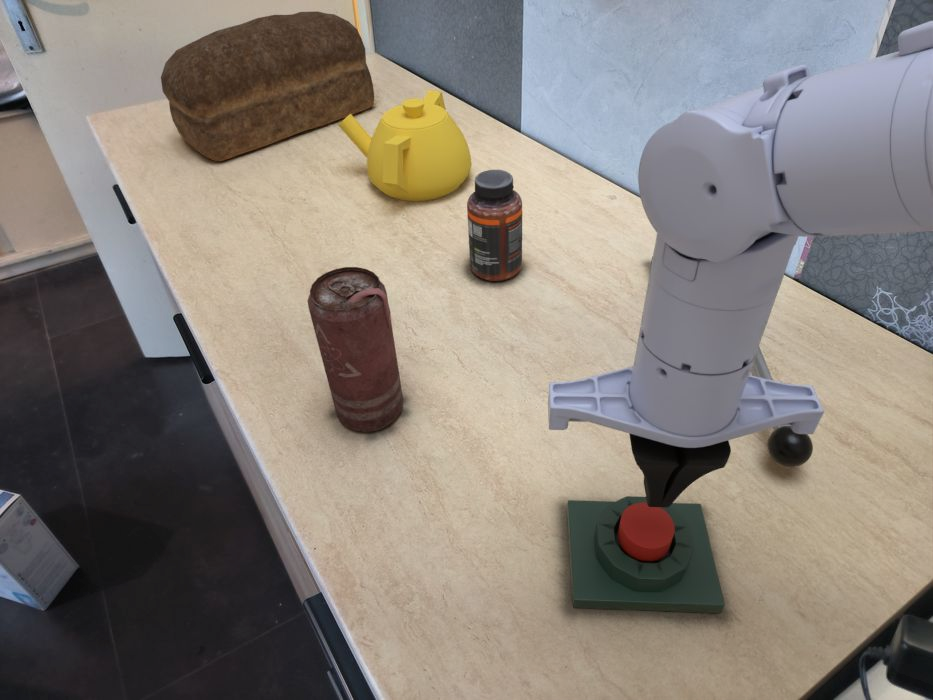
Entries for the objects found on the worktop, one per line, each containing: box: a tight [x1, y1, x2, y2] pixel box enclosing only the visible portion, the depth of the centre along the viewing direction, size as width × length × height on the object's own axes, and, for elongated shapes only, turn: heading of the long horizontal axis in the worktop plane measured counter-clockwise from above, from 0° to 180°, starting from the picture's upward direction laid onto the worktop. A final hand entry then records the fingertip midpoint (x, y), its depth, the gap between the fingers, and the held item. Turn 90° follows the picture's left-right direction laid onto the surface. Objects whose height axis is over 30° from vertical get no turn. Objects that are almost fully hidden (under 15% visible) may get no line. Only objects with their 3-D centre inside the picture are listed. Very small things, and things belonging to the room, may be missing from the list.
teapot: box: [337, 89, 473, 202], centre depth 87 cm, size 20×18×11 cm
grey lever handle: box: [750, 346, 814, 468], centre depth 58 cm, size 27×3×3 cm, turn 2°
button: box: [618, 503, 675, 561], centre depth 45 cm, size 4×4×2 cm
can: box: [307, 266, 404, 433], centre depth 55 cm, size 6×6×14 cm
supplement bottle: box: [466, 169, 523, 282], centre depth 71 cm, size 6×6×11 cm
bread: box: [160, 10, 375, 162], centre depth 102 cm, size 15×32×16 cm, turn 130°
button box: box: [566, 495, 726, 614], centre depth 46 cm, size 10×8×3 cm
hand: (656, 494), depth 42 cm, fingers closed
